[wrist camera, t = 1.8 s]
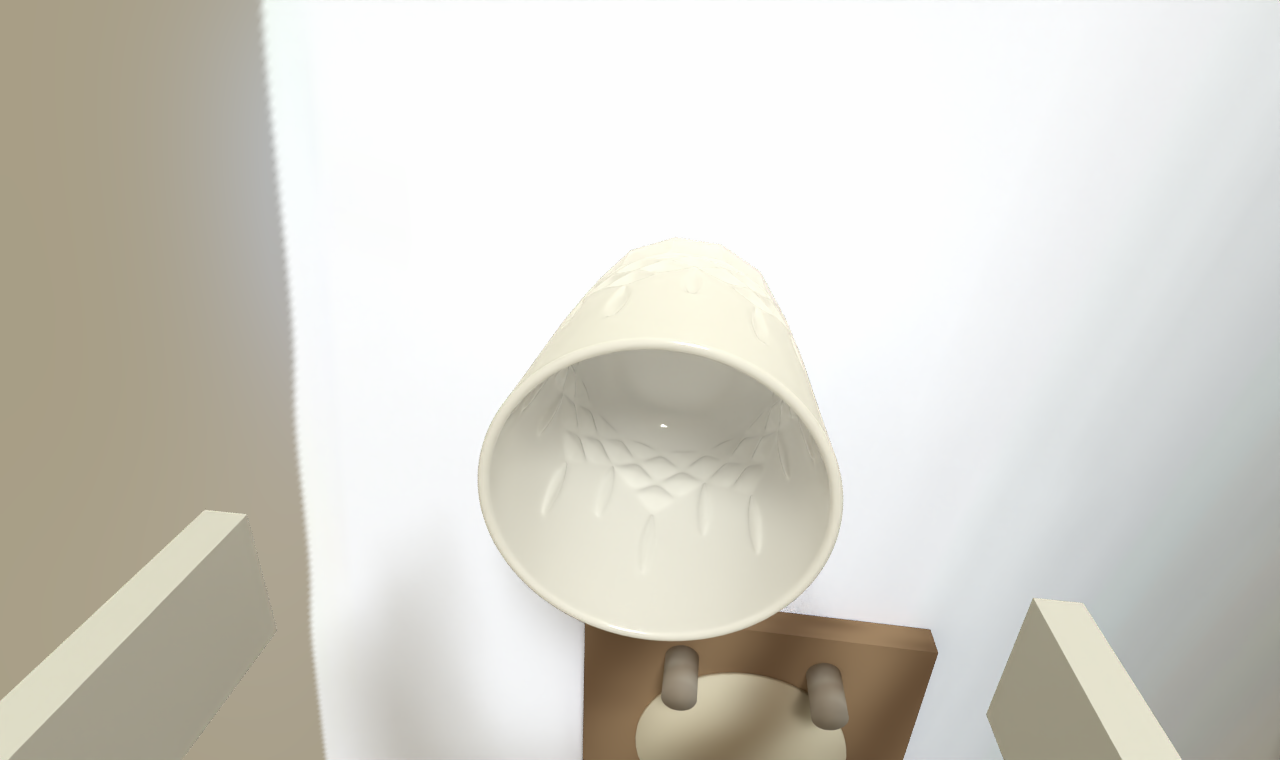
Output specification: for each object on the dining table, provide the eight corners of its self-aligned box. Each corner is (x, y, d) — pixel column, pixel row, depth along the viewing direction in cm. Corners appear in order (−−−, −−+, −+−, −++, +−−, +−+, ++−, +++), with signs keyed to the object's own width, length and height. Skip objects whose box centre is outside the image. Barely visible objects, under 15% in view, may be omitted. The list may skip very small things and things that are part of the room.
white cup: (560, 412, 26) (472, 609, 17) (580, 200, 22) (482, 308, 13) (771, 449, 26) (794, 669, 17) (825, 239, 22) (892, 377, 13)
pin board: (930, 629, 28) (952, 695, 26) (864, 837, 35) (876, 909, 32) (590, 589, 30) (575, 648, 27) (586, 797, 36) (573, 863, 33)
